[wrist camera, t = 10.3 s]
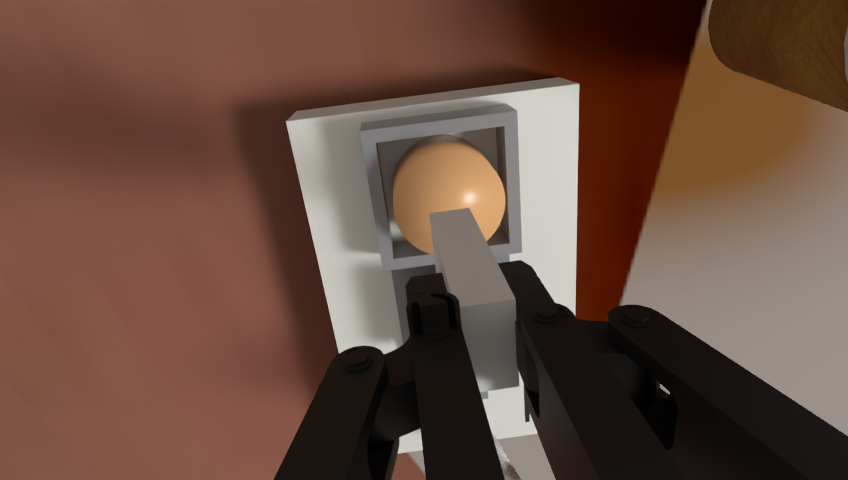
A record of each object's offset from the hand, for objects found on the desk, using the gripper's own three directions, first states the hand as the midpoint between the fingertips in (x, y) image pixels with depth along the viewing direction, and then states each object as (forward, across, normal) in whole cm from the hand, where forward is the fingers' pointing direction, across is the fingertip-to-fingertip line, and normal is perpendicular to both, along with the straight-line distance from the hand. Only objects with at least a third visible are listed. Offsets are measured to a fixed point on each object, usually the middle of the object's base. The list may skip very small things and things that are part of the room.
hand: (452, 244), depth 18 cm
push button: (+7, 0, 0) cm, 7 cm away
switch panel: (+10, 0, -7) cm, 12 cm away
